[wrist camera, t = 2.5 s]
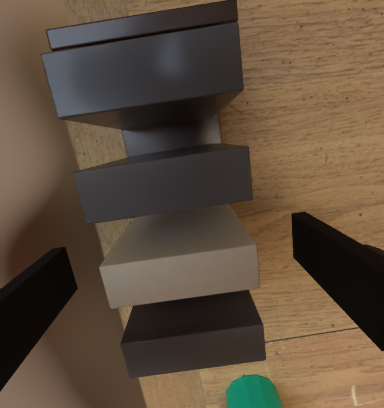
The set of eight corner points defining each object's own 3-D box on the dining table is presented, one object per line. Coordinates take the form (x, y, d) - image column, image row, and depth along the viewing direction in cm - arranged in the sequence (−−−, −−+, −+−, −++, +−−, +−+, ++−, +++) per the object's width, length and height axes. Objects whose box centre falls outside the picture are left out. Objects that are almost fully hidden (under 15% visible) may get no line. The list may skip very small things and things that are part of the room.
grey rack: (115, 84, 19) (9, 1, 8) (212, 69, 19) (249, -39, 8) (155, 277, 24) (126, 403, 12) (234, 266, 24) (278, 383, 12)
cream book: (143, 203, 21) (98, 267, 10) (221, 191, 21) (257, 244, 10) (148, 226, 22) (110, 309, 11) (224, 215, 21) (260, 288, 11)
